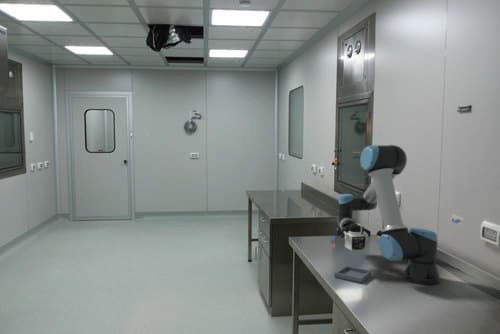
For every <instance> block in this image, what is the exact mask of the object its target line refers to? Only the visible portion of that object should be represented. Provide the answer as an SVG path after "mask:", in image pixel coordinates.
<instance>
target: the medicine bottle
mask: <svg viewBox="0 0 500 334" xmlns="http://www.w3.org/2000/svg"><path fill="white" fill-rule="evenodd" d="M362 227H363V226H362V225H361V224H359V223H356V222H354V223H353V224H350V225H349V233H347V234H348V240H345V239H344V248H346V249H348V250H350V251H352V252H354V251H365V249H366V240H365V235H363V234H361V233H362Z"/></svg>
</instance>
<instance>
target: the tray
mask: <svg viewBox="0 0 500 334" xmlns="http://www.w3.org/2000/svg"><path fill="white" fill-rule="evenodd" d="M371 277H372V270H368V269H365V268H358V267H355V266H349V265H345V266H343V267H342V268H340V269H338V270H337V271H335V272H334V278H335V279H339V280H343V281H347V282H352V283H355V284H358V285H359V284H360V285H361V284H362V283H364V282H366V281H367V280H368V279H369V278H371Z"/></svg>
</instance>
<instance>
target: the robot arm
mask: <svg viewBox="0 0 500 334" xmlns="http://www.w3.org/2000/svg"><path fill="white" fill-rule="evenodd" d="M407 159H408V157H407V154H406V152H405V150H404V149H403V148H401V146H398V145H393V144H390V145H377V144H374V145H368V146H366V147H364V148H363V150H362V152H361V155H360V161H359V162H360V166H361V168H362V169H363V170H364V171H367V175H368V176H369V177H370V178H372V182H371V184H370V185H369V186H368V187H367V189H366V190H365V192H364V193H363V195H361V196H357V197H355V196H354V195H353V194H351V193H340V194H339V196H338V215H337V219H336V223H337V227H336V234H337V235H336V236H337V237H340V238H341V239H342V238H344V241H345V240H348V234H347V233H349V225H350V224H353V223H355V221H353V212H359V211H360V212H361V211H371V210H372V211H373V210H375V209H376V208H377V206H378V208H379V213H380V218H381V223H382V226H383V228H382V229H381V230H382V231H381V230H380V231H381V236H380V237H379V239H378V238H377V246H378V250H379V252H381V253H380V254H381V255H382V257H383V258H385V259H386V260H387V261H390V262H391V261H393V262H394V261H396V262H398V261H404V260H408V262H407V264H406V266H405V270H404V272H403V274H404V275H403V278H404V279H405V280H406V281H409V282H411V283H413V284H418V285H426V286H427V285H428V286H431V285H437V284H440V282H441V280H440V279H441V278H440V274H439V270H438V267H437V249H438V234H437V233H436V232H434V231H433V230H429V229H425V228H418V227H411V228H409V230H408V227H407V226H406V225H404V223H403V219H402V215H401V210H400V206H399V203H398V198H397V194H396V189H395V185H394V181H393V180H394V179H395V177H396V176H398V175H400V174H401V173H402V172H403V171H404V170H405V168H406V166H407V162H408V160H407ZM361 234H363V235H365V242H367V241H369V237H371V230H369V229H367V228H365V227H364V226H362V233H361ZM378 240H379V241H378Z"/></svg>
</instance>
